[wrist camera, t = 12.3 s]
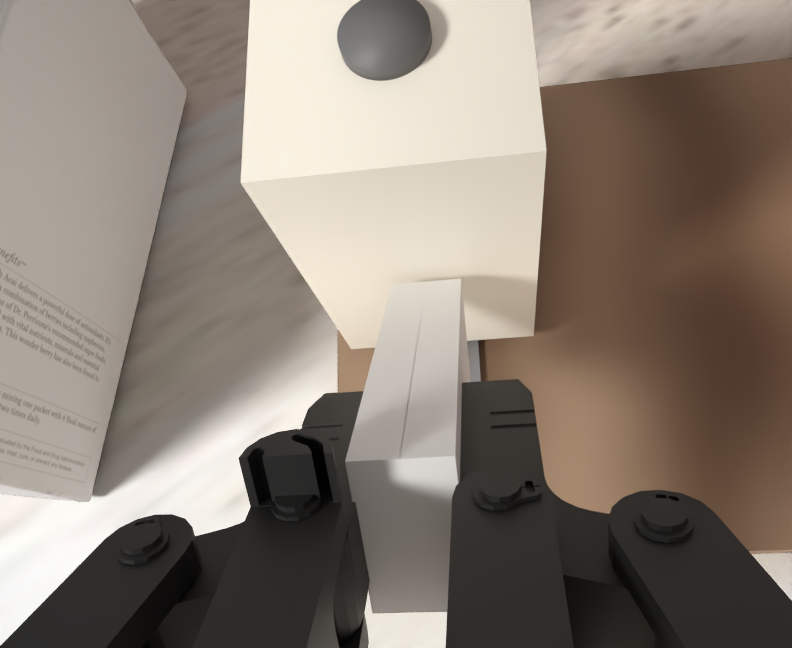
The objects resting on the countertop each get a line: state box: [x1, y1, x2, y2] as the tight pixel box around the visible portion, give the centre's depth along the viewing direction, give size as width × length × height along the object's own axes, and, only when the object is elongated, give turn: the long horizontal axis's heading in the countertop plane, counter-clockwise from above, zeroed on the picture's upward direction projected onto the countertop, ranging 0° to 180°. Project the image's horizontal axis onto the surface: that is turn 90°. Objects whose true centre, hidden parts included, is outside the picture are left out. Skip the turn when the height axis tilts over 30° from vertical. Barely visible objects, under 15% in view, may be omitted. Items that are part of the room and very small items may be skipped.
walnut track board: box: [338, 58, 792, 554], centre depth 21 cm, size 20×14×2 cm
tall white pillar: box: [241, 0, 546, 349], centre depth 17 cm, size 5×5×9 cm
